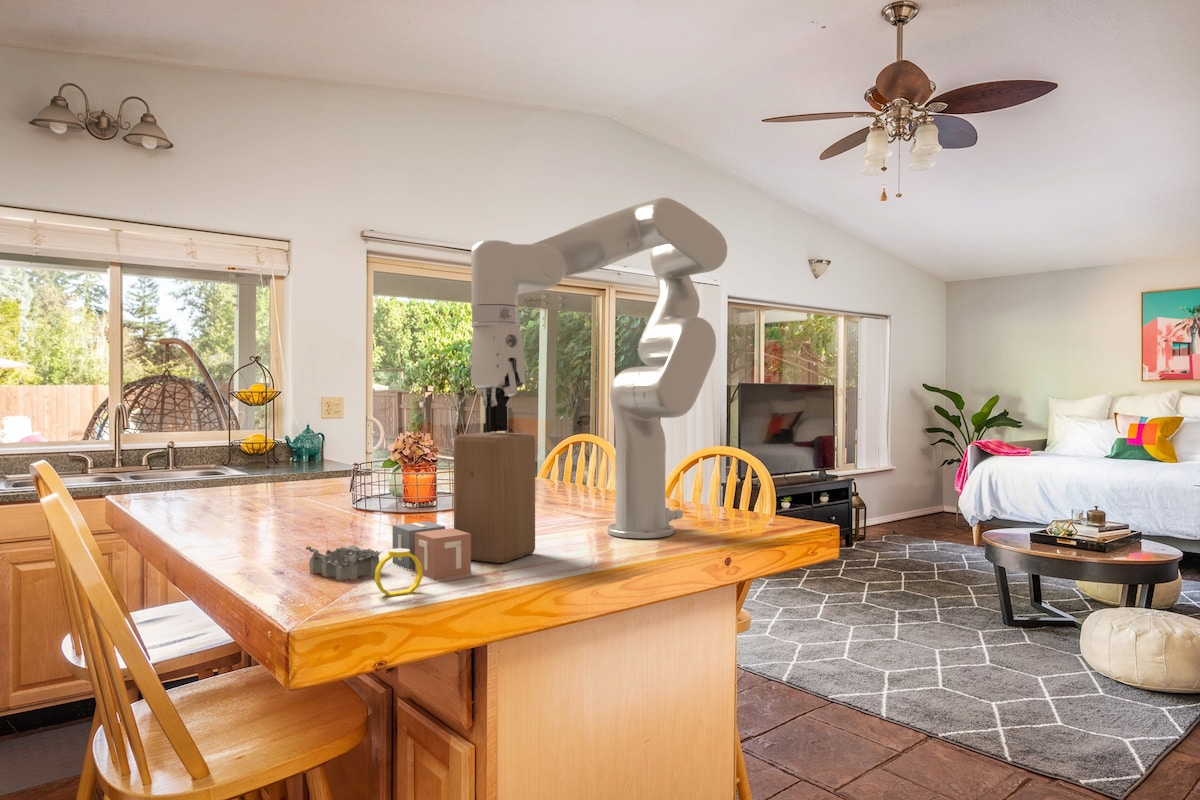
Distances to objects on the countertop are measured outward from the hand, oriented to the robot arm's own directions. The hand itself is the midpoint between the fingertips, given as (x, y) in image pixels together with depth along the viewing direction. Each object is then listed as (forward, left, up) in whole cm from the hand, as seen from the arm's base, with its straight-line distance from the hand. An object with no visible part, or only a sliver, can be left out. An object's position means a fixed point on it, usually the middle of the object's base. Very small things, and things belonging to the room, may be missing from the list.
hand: (496, 430), depth 122 cm
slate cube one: (+12, -3, -21) cm, 24 cm away
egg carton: (+23, -5, -21) cm, 32 cm away
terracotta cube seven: (+12, +5, -21) cm, 25 cm away
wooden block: (0, 0, -21) cm, 21 cm away
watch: (+22, +12, -21) cm, 33 cm away
